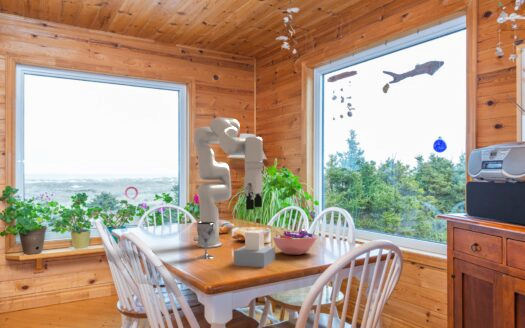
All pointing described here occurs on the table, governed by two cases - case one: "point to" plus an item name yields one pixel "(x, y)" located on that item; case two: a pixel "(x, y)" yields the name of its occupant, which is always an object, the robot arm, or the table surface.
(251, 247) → the cream matte cube
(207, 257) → the wine glass
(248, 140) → the robot arm
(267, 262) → the base box
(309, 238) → the cell model
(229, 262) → the table surface
